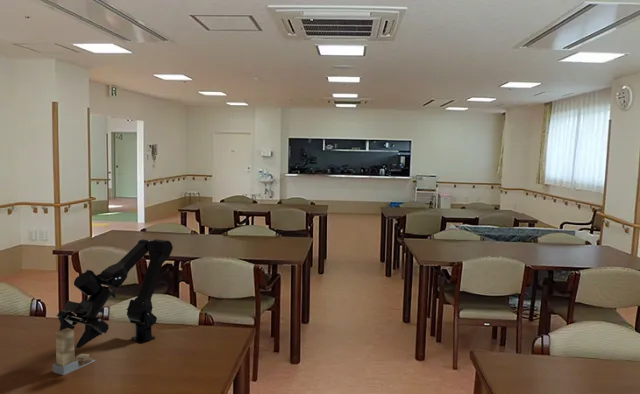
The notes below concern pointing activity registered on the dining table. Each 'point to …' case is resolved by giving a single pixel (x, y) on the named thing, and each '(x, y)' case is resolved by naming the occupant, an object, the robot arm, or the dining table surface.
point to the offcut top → (82, 357)
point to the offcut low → (84, 361)
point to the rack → (67, 367)
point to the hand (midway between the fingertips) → (67, 345)
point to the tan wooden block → (65, 347)
